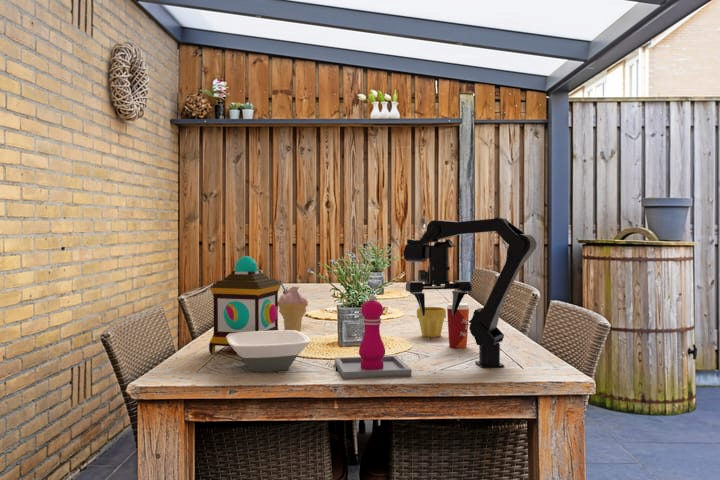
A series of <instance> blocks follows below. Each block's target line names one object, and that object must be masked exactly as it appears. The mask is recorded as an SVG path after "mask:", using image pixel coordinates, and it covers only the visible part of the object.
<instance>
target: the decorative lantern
mask: <svg viewBox="0 0 720 480" xmlns="http://www.w3.org/2000/svg"><path fill="white" fill-rule="evenodd" d="M281 287H282V286H281V284H280V282H279V280H276V279H275V278H273V277H269V276H268V275H265V273H263V272H262V271H261V270H259V269H258V263H257V261H255V259H254V258H252V257H251V256H248V255H244V256H242V257H240V258H239V259H238V261H236V262H235V267H234V270H233V271H231V273H230V274H228V275H227V276H226V277H224V278H223V279H220V280H217V281H216V282H215V283H212V285H211V286H210V287H209V290H210V292H211V294H212V297H213V333H212V337H211V339H210V341H209V344H208V349H209V351H208V352H209V353H210V355H213V354H215V351H216V346H218V347H231V346H230V344H229V343H228V341H227V338H226V336H227V335H228V334H229V333H238V332H252V331H275V330H279V324H278V323H279V314H278V313H279V306H278V301H279V298H278V297H279V296H278V294H279V293H278V292H279V290H280V288H281Z"/></svg>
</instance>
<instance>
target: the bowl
mask: <svg viewBox="0 0 720 480" xmlns="http://www.w3.org/2000/svg"><path fill="white" fill-rule="evenodd" d="M226 338H227V341H228V343H229V344H230V346H229V347H230V348H232V349H233V351H234V352H236V354H237V355H238V356H239V357H240V358H241V360H242V362H243V363H244V364H245V366H246V368H247V370H249V371H250V372H251V373H267V372H268V373H269V372H270V373H271V372H280V371H288V370H289V369H290V368H291V366H292V364H293V363H294V362H295V360H296V359H297V357H298V356H299V355H300V354H301V353H302V352H303V351H304V350H305V349H306V347H307V346H309V344H310V342H311V339H310V338H309V337H308V336H307V335H306V334H305V333H304V332H301V331H300V332H299V331H296V330H285V329H284V330H282V329H280V330H279V329H278V330H275V331H252V332H238V333H229V334H228V335H227V336H226Z"/></svg>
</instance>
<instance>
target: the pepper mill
mask: <svg viewBox="0 0 720 480" xmlns="http://www.w3.org/2000/svg"><path fill="white" fill-rule="evenodd" d="M360 312H361V315H362V316H363V318H362V323H363V325H364V333H363V337H362V340H361V342H360V344H359V347H358V355H359V357H361V358H362V359H363V360H362V361H361V368H362V369H365V370H379V369H382V368H383V361H382V360H381V359H382V358H383V357H384V356H386V355H385V354H386V348H385V345H384V343H383V340H382V338H381V333H380V325H381V324H382V318H381V317H382V315H383V313H384V308H383V304H382V303H380V302H379V301H377V300H376V296H375V295H374V294H371V295H369V296H368V300H367V301H365V302H364V303H363V304H362V305H361V308H360Z"/></svg>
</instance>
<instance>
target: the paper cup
mask: <svg viewBox="0 0 720 480" xmlns="http://www.w3.org/2000/svg"><path fill="white" fill-rule="evenodd" d="M452 304H453V302H447V304H446V305H447V306H445V309H446V316H447V330H448V331H447V332H448V347H450V348H452V349H465V348H467V346H468V345H467V344H468V331H469V318H470V317H469V316H470V315H469V313H470V309H471V307H470V305H469V303H465V302H460V304H459V306H458V308H457V311H456V313H455V315H452Z"/></svg>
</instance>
